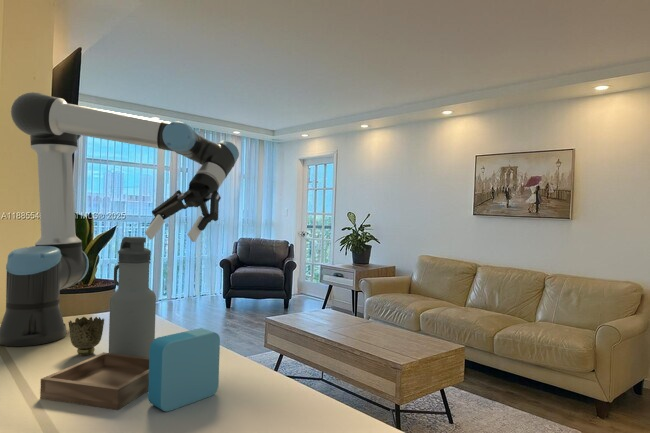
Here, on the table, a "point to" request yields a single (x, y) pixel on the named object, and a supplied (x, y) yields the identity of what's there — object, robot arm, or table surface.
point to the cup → (86, 334)
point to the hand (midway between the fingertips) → (169, 237)
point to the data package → (183, 368)
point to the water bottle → (132, 301)
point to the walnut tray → (99, 381)
